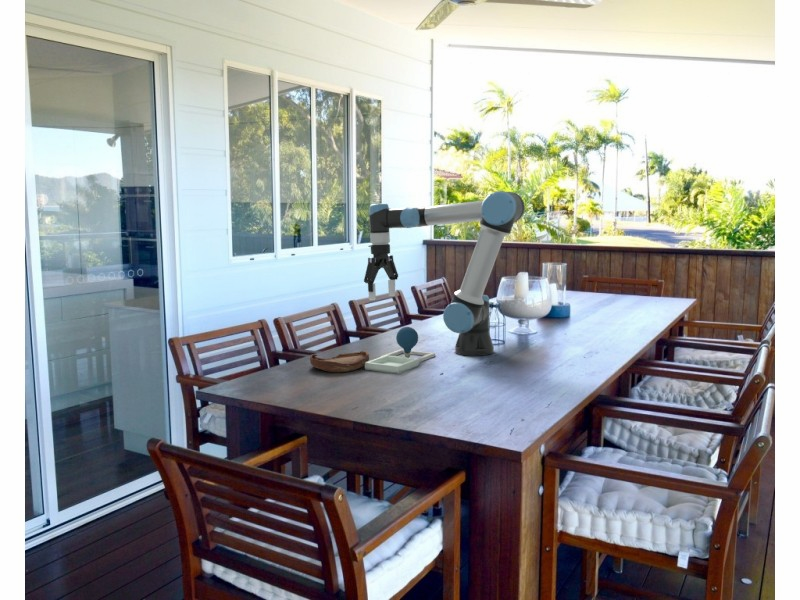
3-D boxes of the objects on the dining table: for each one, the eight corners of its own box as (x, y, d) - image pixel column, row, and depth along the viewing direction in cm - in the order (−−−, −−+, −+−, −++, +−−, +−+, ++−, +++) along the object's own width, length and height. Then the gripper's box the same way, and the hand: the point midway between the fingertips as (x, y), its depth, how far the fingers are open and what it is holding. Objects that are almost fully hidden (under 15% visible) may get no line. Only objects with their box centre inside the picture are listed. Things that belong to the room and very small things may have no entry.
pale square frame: (435, 356, 268) (435, 353, 268) (414, 364, 255) (414, 360, 255) (401, 352, 276) (401, 349, 276) (379, 359, 263) (379, 356, 263)
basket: (346, 358, 268) (346, 345, 267) (382, 366, 254) (382, 352, 253) (299, 368, 252) (298, 355, 252) (334, 377, 238) (334, 363, 238)
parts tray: (418, 365, 252) (418, 358, 252) (398, 373, 240) (398, 366, 240) (386, 361, 260) (386, 355, 259) (364, 369, 248) (364, 362, 248)
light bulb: (416, 360, 261) (416, 329, 259) (394, 360, 263) (394, 328, 261) (420, 355, 269) (419, 325, 267) (399, 355, 271) (398, 324, 269)
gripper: (390, 242, 283) (392, 294, 285) (353, 245, 262) (355, 301, 265) (405, 242, 279) (407, 294, 281) (369, 245, 258) (371, 302, 260)
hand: (382, 298), depth 273 cm, fingers open, 13 cm apart
